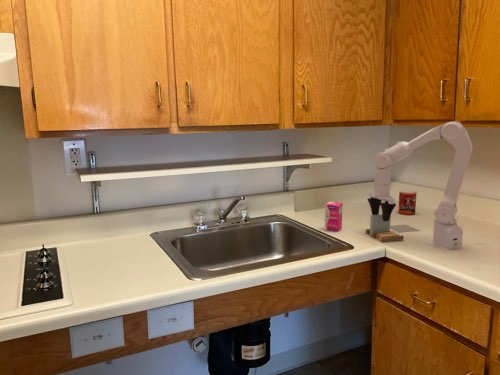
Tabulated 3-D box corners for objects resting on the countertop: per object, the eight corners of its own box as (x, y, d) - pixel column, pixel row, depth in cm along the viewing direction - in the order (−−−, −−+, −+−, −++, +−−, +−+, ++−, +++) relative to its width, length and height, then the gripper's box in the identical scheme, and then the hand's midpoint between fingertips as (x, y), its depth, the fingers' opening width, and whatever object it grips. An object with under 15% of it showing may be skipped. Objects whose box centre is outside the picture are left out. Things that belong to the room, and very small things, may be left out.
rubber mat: (420, 232, 163) (420, 230, 163) (398, 234, 160) (398, 232, 160) (405, 225, 172) (405, 224, 172) (384, 227, 170) (384, 226, 170)
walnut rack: (403, 242, 150) (403, 236, 149) (382, 244, 148) (382, 237, 148) (385, 233, 161) (385, 227, 161) (365, 235, 159) (366, 229, 159)
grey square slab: (389, 234, 157) (390, 214, 156) (371, 236, 156) (372, 216, 154) (387, 233, 159) (388, 213, 158) (369, 235, 157) (370, 215, 156)
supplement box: (324, 231, 165) (324, 204, 163) (328, 228, 170) (329, 201, 168) (338, 233, 162) (339, 205, 160) (342, 229, 167) (343, 202, 165)
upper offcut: (399, 237, 151) (399, 234, 151) (382, 238, 149) (382, 236, 149) (393, 234, 155) (393, 231, 154) (376, 235, 153) (376, 233, 153)
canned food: (398, 214, 192) (399, 192, 190) (397, 211, 199) (399, 189, 198) (415, 215, 190) (417, 192, 188) (414, 212, 197) (415, 189, 195)
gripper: (363, 181, 160) (361, 214, 162) (383, 187, 146) (381, 223, 148) (379, 180, 162) (377, 213, 164) (400, 186, 148) (398, 222, 150)
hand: (380, 218), depth 156 cm, fingers open, 7 cm apart
